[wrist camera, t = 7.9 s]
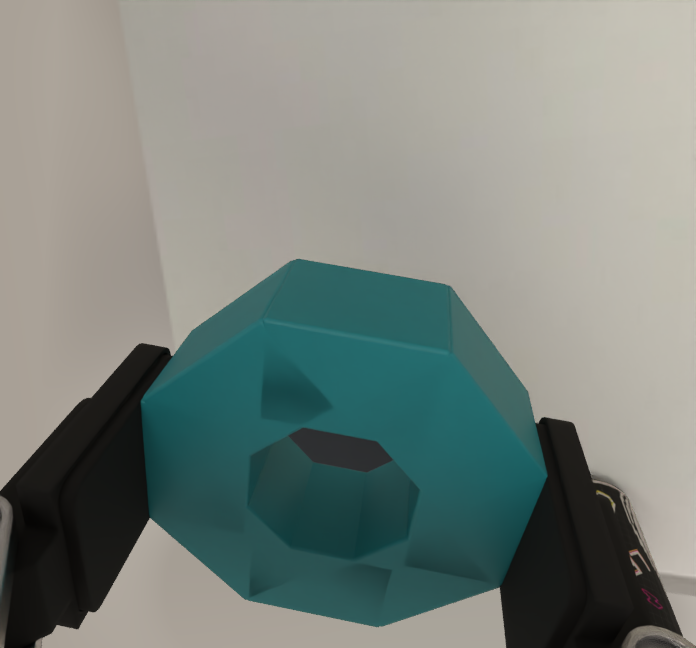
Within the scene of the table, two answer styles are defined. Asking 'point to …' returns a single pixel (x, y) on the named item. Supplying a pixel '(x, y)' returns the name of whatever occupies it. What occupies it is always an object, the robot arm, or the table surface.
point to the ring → (350, 420)
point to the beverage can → (640, 558)
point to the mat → (340, 450)
